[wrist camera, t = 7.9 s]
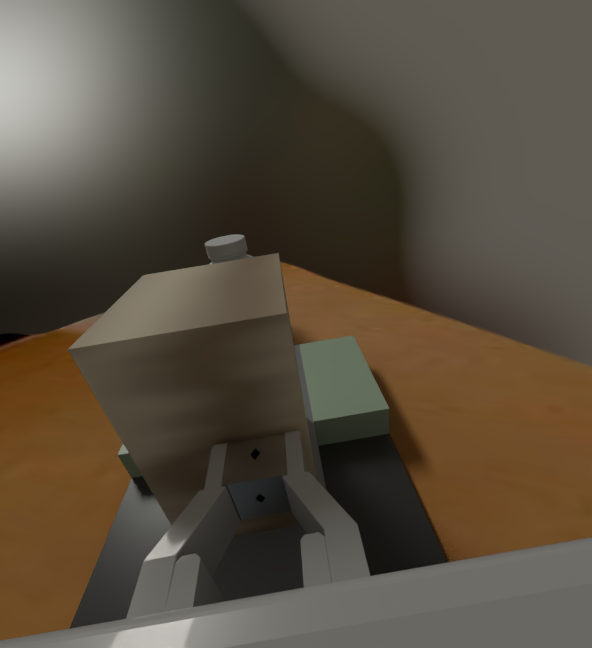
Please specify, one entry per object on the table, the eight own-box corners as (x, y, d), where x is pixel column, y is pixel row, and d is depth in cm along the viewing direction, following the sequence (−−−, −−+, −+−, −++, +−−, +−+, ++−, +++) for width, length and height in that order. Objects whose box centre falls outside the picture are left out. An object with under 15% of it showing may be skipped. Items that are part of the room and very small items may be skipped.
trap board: (-259, 1466, 5) (-474, 1659, 4) (170, 391, 27) (160, 367, 26) (753, 1256, 5) (867, 1371, 4) (354, 360, 27) (353, 335, 26)
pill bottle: (257, 309, 39) (240, 229, 34) (277, 324, 35) (260, 236, 30) (216, 324, 37) (191, 242, 32) (231, 343, 32) (205, 251, 28)
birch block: (183, 545, 13) (68, 349, 8) (206, 434, 18) (143, 275, 14) (323, 520, 13) (286, 312, 9) (306, 417, 19) (278, 253, 14)
